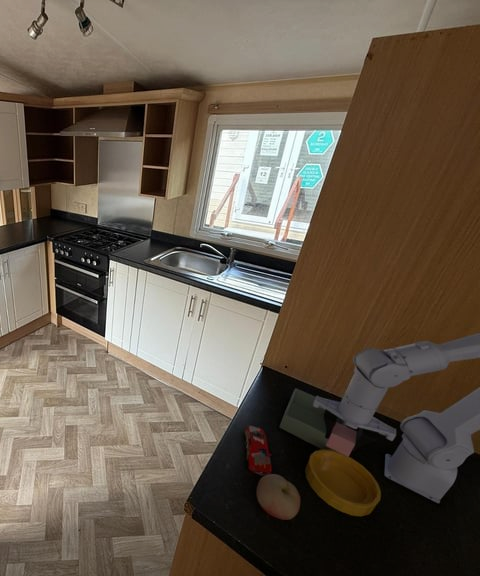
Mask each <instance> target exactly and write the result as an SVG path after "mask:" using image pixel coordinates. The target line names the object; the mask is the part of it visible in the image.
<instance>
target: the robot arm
mask: <svg viewBox="0 0 480 576" xmlns="http://www.w3.org/2000/svg"><path fill="white" fill-rule="evenodd" d="M475 359H480V332H478V333H475V334H472V335H471V334H470V335H468V336H464V337H460V338H458V339H453V340H450V341H446V342H444V343H439V344H438V343H434V342H432V341H428V340H425V341H422V340H421V341H417V342H415V343H411V344H406V345H401V346H397V347H393V348H388V349H377V348H373V347H372V348H370V347H369V348H366V349H363V350H361V351H360V352H358V353H357V355H353V358H352V363H353V364H354V369H353V372H354V374H353V375H352V378H351V379H350V382H349V384H348V386H347V388H346V390H345V392H344V394H343V397H342V398H341V401H337V400H333V399H328V398H325V397H321V396H319V395H316V396H315V397H316V398H315V401H314V404H313V406H314V407H316V408H318V407H320V408H323V409H325V413H324V421H325V425H326V435H325V438H327V439H328V438H329V437H330V434H331V431H332V429H333V427H334V426H335V424H336V421H337V417H339V418H341V419H342V420H344V421H345V424H346V425H347V426H346V427H348V428H351V429H353V430H357V429H358V428H359V429H358V431H357V435H356V443H355V446H354V448H353V449H352V451H351V452H355V451H357V449H359V448H360V447H362V446H364V445H367V444H370V443H375V442H376V441H377V440H378V435H382V436H383V437H385V439H387V440H389V441H391V442H393V441H394V440H395V438H396V436H397V429H396V428H394V427H392V426H391V425H388V424H387V423H385V422H383V421H381V420H380V419H378V418H377V417H374V415H375V413H376V411H377V409H378V408H379V406H380V404H381V403H382V401H383V398H384V397H385V395H386V394H387V391H388V390H389V388H395V387H397V386H399V385H400V384H402V383H403V382H404V381H408V380H409V379H411V377H413V376H419V375H424V374H429V373H434V372H441V371H444V370H446V368H447V367H448V366H449V364H450V363H452V362H458V361H466V360H475ZM399 428H400V430H401V432H403V433H402V435H401V438H402V440H401V442H400V444H399V445H398V447H396V450H395V452H394V453H393V454H392V455H391V454H389V453H386V454H385V456H384V457H385V458H384V477H385V478H387V479H389V480H391V481H393V482H395V483H397V484H399V485H401V486H402V487H405V488H407V489H409V490H411V491H413V492H414V493H417V494H419V495H421V496H422V497H425V498H426V499H429V500H431V501H433V502H434V503H437V504H440V503H441V500H442V498H443V497H444V496H445V495H446V493H447V492H448V491H449V490H450V489H451V488H452V486H453V485H454V483H455V481H456V479H457V476H458V467H460V466H461V465H462V464H463V463H464V462H465V460H466V459H467V458H468V457H469V456H471V455H472V454H474V453H475V448H474V444H473V440H472V435H473V434H475V433H476V432H478V431H480V386H479V387H477V388H476V389H475V390H473V391H472V392H471V393H470V392H469V394H468V395H466V396H464V397H463V398H461V399H460V400H458V401H457V402H455V403H454V404H452V405H451V406H449V407H448V408H446V409H444V410H443V411H442V412H435V411H432V410H431V411H430V410H422V411H421V412H419V413H417V414H414V415H411V416H408V417H406V418H404V419H403V420H402V421H401V422H400V425H399Z"/></svg>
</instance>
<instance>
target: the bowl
mask: <svg viewBox="0 0 480 576" xmlns="http://www.w3.org/2000/svg"><path fill="white" fill-rule="evenodd" d="M304 473H305V478H306V480H307V482H308V484H309V486H310V487H311V489H312V490H313V492H315V494H316V495H317V496H318V497H319V498H320V499H322V500H323V501H324V502H325V503H326V504H327V505H328V506H331V508H333V509H335V510H337V511H339V512H342V513H343V514H347V515H349V516H354V517H364V516H368V515H371V514H372V512H373V511H374V510H375V509H376V507H377V505H378V504H379V503H380V502H381V497H382V491H381V487H380V486H379V483H378V482H377V480H376V479H375V477H374V476H373V474H372V473H371V472H370V471H369V470H368V469H366V467H364V465H362V464H361V463H359V462H358V461H356V460H355V459H353V457H350V456H349V457H348V456H345V455H343V454H341V453H339V452H336V451H333V450H326V449H318V450H315V451H314V452H313V453H311V454H310V455H309V458H308V460H307V462H306V465H305V467H304Z"/></svg>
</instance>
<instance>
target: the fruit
mask: <svg viewBox="0 0 480 576" xmlns="http://www.w3.org/2000/svg"><path fill="white" fill-rule="evenodd" d="M256 499H257V502H258V504H259V505H260V507H261V509H262V510H264V512H265V513H267V514H268V515H270V516H271V517H273V518H276V519H280V520H283V521H288V520H292V519H293V518H295V517H296V516H297V514H298V513H299V511H300V509H301V508H300V507H301V495H300V493H299V491H298V489H297V488H296V486H295V485H294V484H293V483H291V482H290V481H288V480H287V479H286V478H284V477H283V476H281V475H280V474H277V473H276V474H275V473H270V474H268V475H265V476H261V478H260V479H259V481H258V484H257V485H256Z"/></svg>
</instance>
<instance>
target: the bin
mask: <svg viewBox="0 0 480 576" xmlns="http://www.w3.org/2000/svg"><path fill="white" fill-rule="evenodd" d="M315 398H316V396H314V395H312V394H310V393H307V392H305V391H303V390H301V389H299V388H296V387H295V388H294V390H293V392H292V394H291V396H290V399H289V402H288V405H287V406H286V409H285V411H284V414H283V415H282V419H281V421H280V424H279V429H282V430H283V431H285V432H287V433H289V434H291V435H293V436H295V437H297V438H299V439H301V440H303V441H305V442H307V443H308V444H311V445H312V446H315V447H317V448H318V449H319V450H322V449H326V450H333V449H331V448H329V447H327V446H326V442H327V438H325V435H326V425H325V421H324V413H325V409H323V408H320V407H318V408H316V407H314V406H313V404H314V401H315ZM336 422H337V423H339V424H341V425H343V426H346V427H348V426H347V425H346V424H345V421H344V420H342V419H341V418H339V417H337V421H336ZM333 451H335V450H333ZM336 452H337V451H336Z"/></svg>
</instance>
